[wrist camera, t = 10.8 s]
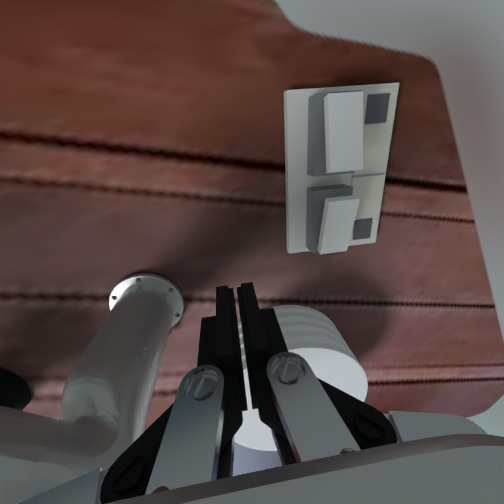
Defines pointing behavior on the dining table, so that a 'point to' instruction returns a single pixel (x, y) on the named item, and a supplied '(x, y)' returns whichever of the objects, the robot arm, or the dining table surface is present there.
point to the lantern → (13, 390)
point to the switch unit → (314, 163)
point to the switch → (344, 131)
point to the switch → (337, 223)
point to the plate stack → (318, 357)
